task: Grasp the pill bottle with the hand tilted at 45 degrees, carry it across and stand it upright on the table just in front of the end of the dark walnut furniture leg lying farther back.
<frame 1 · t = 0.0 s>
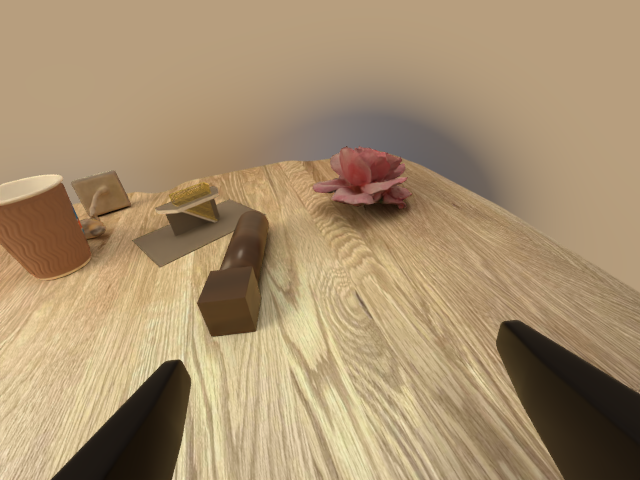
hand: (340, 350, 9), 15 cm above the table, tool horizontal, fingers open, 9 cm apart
flower: (364, 207, 51), on the table
platform: (201, 228, 51), on the table
walnut leg: (247, 276, 38), on the table
coffee cup: (65, 266, 45), on the table
decorative sculpture: (96, 226, 56), on the table
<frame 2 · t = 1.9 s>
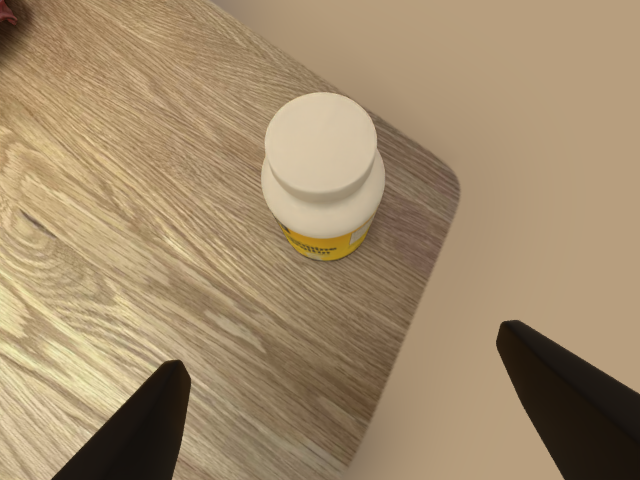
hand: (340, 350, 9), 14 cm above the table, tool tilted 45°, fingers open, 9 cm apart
pill bottle: (326, 223, 24), on the table
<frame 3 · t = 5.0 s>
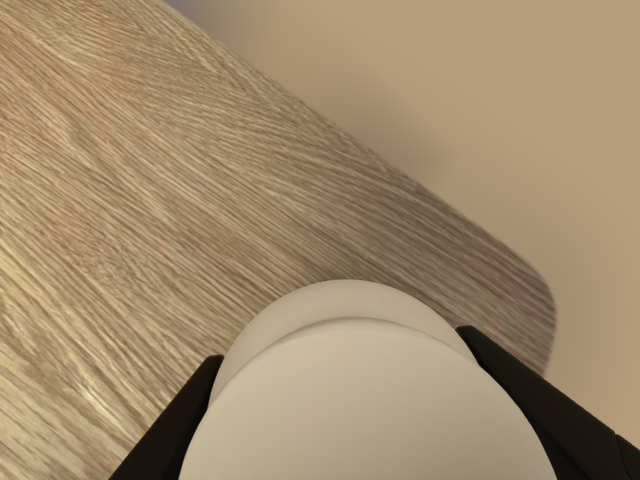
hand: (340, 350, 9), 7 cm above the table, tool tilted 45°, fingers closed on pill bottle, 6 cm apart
pill bottle: (340, 364, 15), on the table, touching gripper
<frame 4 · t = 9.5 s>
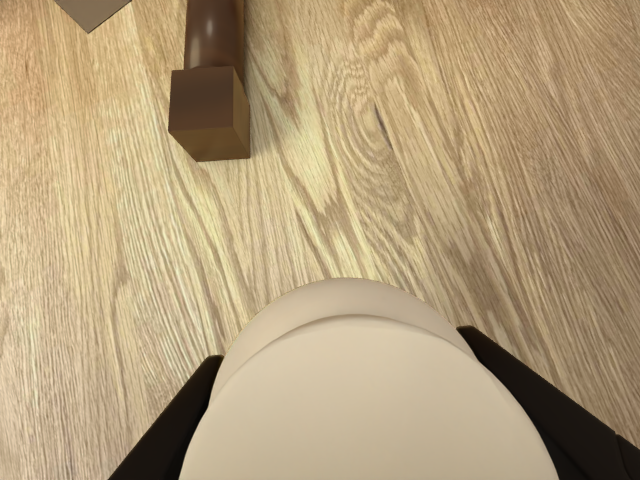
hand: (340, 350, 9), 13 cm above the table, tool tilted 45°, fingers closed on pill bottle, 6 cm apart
pill bottle: (341, 363, 15), point 7 cm above the table, touching gripper
walnut leg: (224, 65, 27), on the table
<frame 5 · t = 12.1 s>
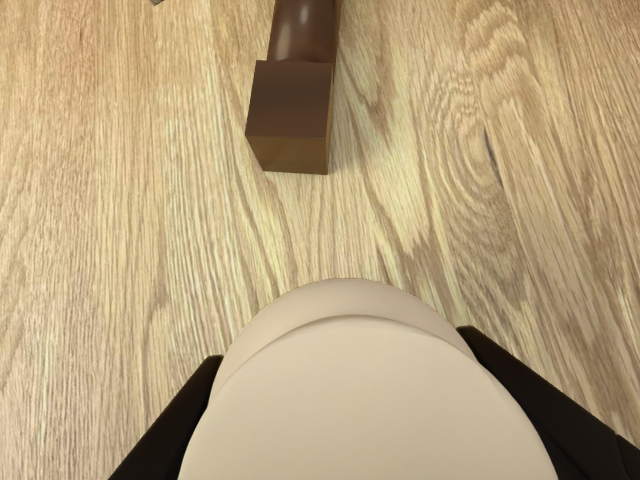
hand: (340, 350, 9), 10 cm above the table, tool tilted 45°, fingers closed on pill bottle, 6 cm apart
pill bottle: (340, 363, 15), point 3 cm above the table, touching gripper
walnut leg: (307, 59, 23), on the table
when the fingers open (7 cm above the table, at t = 14.1 s): pill bottle stays where it is, on the table.
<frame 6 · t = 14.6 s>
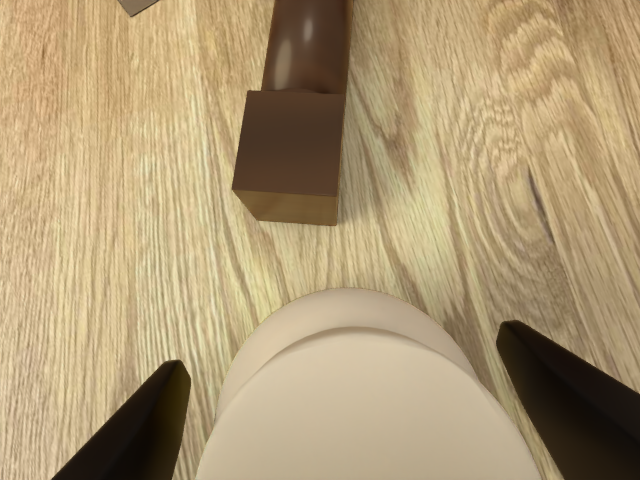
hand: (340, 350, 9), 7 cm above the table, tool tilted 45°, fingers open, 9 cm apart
pill bottle: (341, 366, 15), on the table
walnut leg: (311, 82, 19), on the table
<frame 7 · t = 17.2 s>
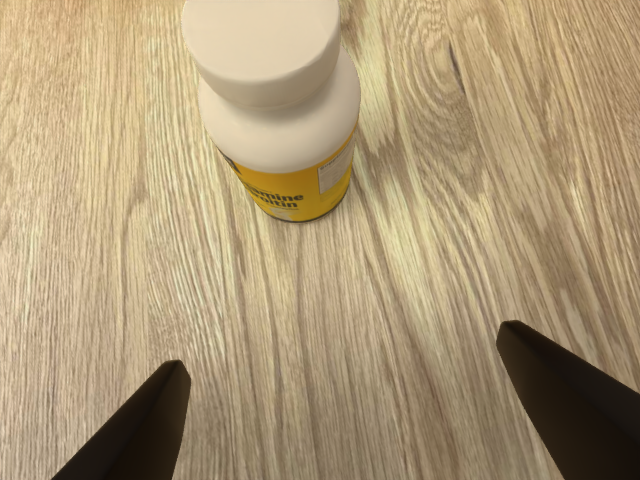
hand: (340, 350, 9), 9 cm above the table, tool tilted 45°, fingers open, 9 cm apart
pill bottle: (300, 180, 20), on the table
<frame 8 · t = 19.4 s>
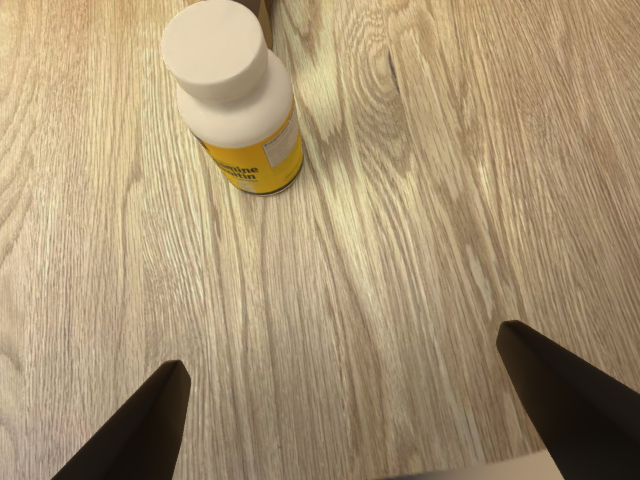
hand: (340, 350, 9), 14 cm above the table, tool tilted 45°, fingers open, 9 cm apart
pill bottle: (265, 163, 25), on the table
walnut leg: (255, 2, 29), on the table
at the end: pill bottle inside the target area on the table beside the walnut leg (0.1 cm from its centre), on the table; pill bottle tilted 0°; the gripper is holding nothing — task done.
